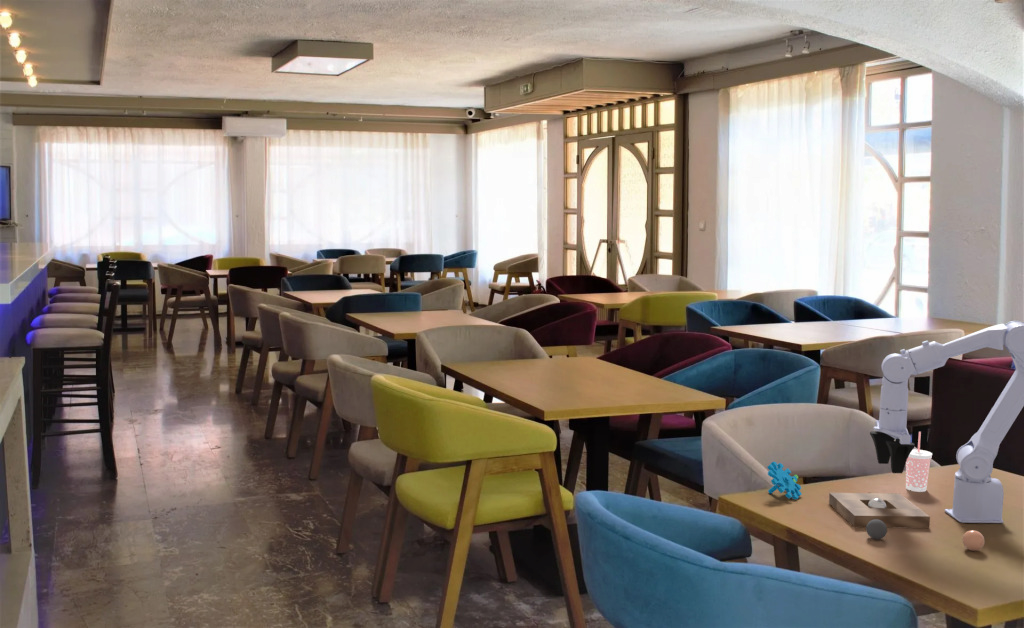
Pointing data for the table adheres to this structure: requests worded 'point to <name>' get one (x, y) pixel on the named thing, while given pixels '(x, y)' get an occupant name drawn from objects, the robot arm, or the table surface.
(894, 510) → the wooden square frame
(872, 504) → the steel ball
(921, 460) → the beverage cup
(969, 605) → the table surface
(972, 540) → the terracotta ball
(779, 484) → the blue branched piece
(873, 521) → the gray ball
